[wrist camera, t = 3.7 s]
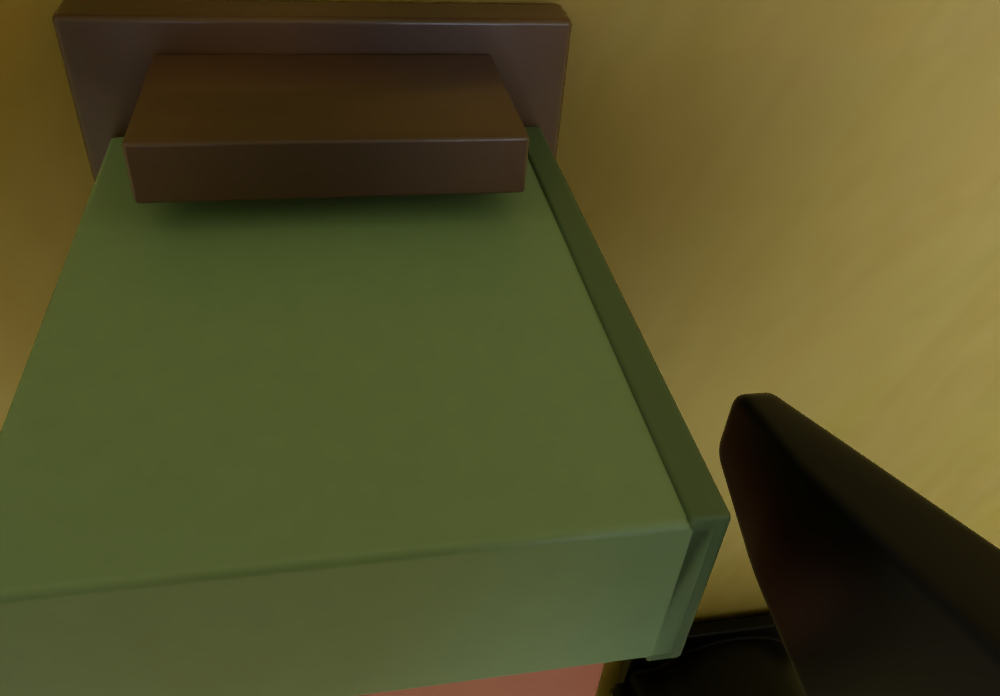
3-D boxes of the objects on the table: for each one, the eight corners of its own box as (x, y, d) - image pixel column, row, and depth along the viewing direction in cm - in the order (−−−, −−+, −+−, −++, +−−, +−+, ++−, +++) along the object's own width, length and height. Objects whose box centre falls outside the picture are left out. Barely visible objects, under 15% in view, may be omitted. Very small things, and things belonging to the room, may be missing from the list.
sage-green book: (540, 125, 14) (734, 516, 8) (527, 247, 15) (681, 658, 9) (109, 131, 12) (-73, 600, 6) (140, 263, 14) (17, 747, 8)
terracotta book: (517, 318, 16) (617, 626, 11) (508, 403, 17) (592, 713, 12) (158, 338, 15) (86, 693, 10) (178, 428, 16) (126, 780, 11)
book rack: (561, 2, 13) (728, 234, 8) (502, 540, 21) (566, 824, 16) (61, -4, 12) (-120, 268, 7) (204, 572, 20) (171, 890, 15)
